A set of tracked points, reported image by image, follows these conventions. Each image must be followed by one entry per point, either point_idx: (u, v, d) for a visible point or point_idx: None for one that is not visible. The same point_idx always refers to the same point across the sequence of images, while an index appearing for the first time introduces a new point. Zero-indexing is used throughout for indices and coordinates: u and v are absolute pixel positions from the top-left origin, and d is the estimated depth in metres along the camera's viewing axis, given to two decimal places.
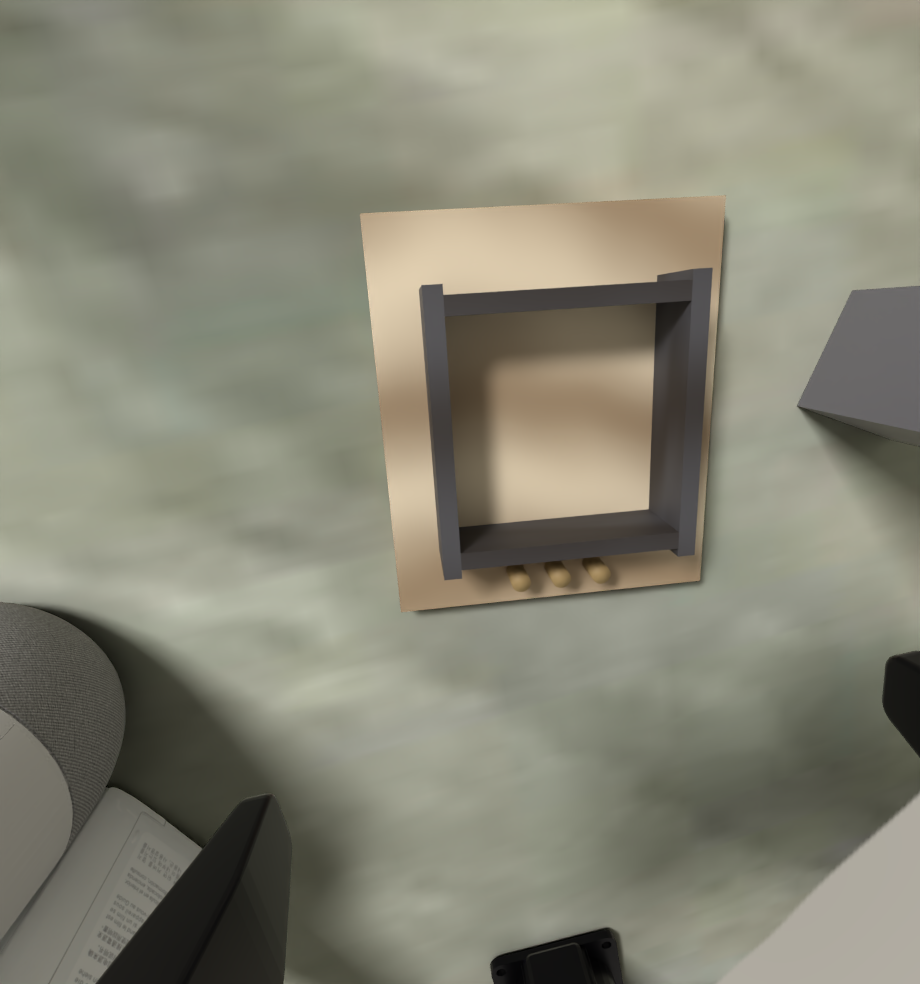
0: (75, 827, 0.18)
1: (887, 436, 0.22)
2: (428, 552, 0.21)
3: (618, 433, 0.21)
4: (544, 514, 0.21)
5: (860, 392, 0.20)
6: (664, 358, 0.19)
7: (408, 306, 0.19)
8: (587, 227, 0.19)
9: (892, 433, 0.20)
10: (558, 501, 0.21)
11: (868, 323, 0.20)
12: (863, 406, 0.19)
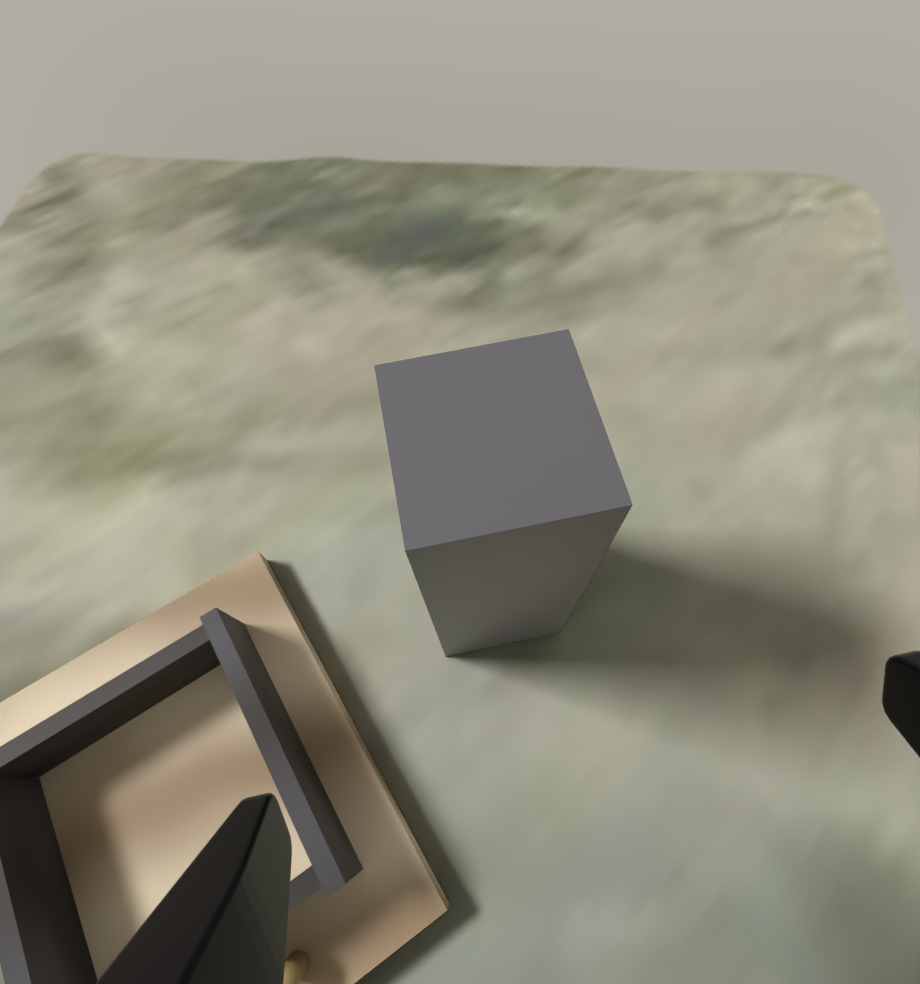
0: None
1: (538, 632, 0.21)
2: None
3: (258, 786, 0.19)
4: None
5: None
6: None
7: None
8: (153, 633, 0.22)
9: (499, 631, 0.20)
10: None
11: None
12: None
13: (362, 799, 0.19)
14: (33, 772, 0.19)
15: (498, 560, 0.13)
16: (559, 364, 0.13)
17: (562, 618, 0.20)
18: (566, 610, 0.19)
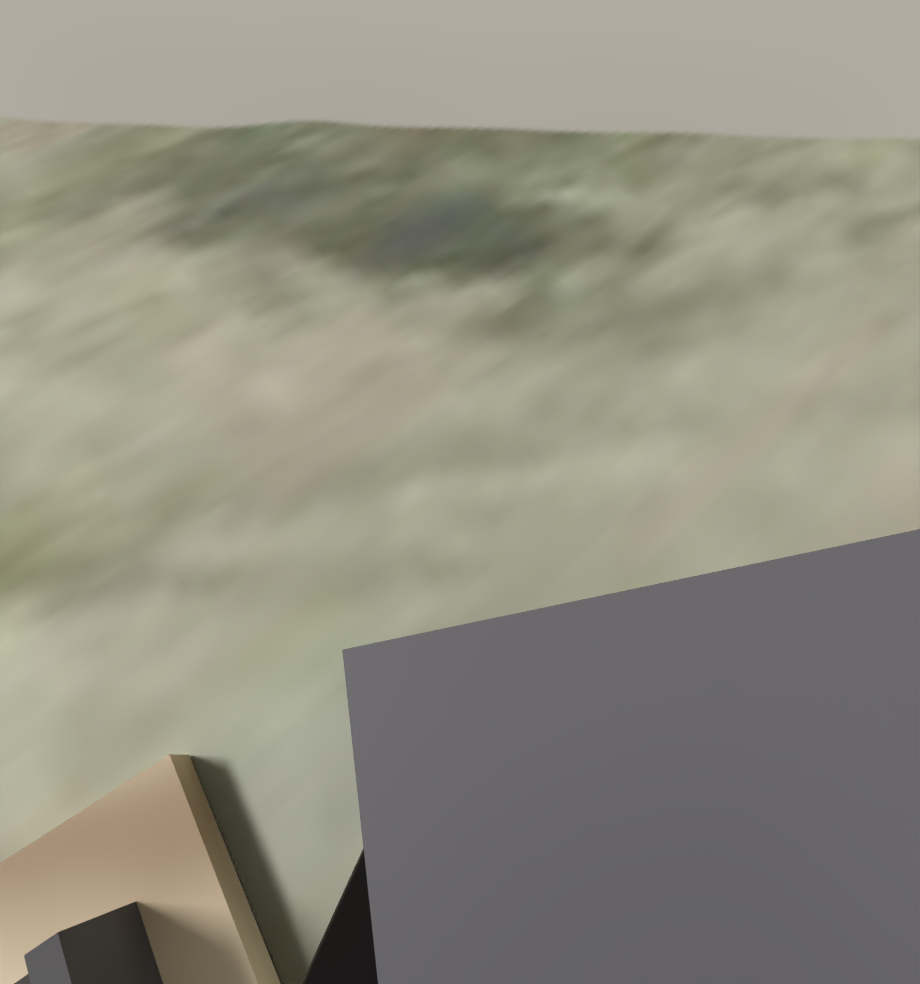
0: None
1: None
2: None
3: None
4: None
5: None
6: None
7: None
8: None
9: None
10: None
11: None
12: None
13: None
14: None
15: None
16: None
17: None
18: None
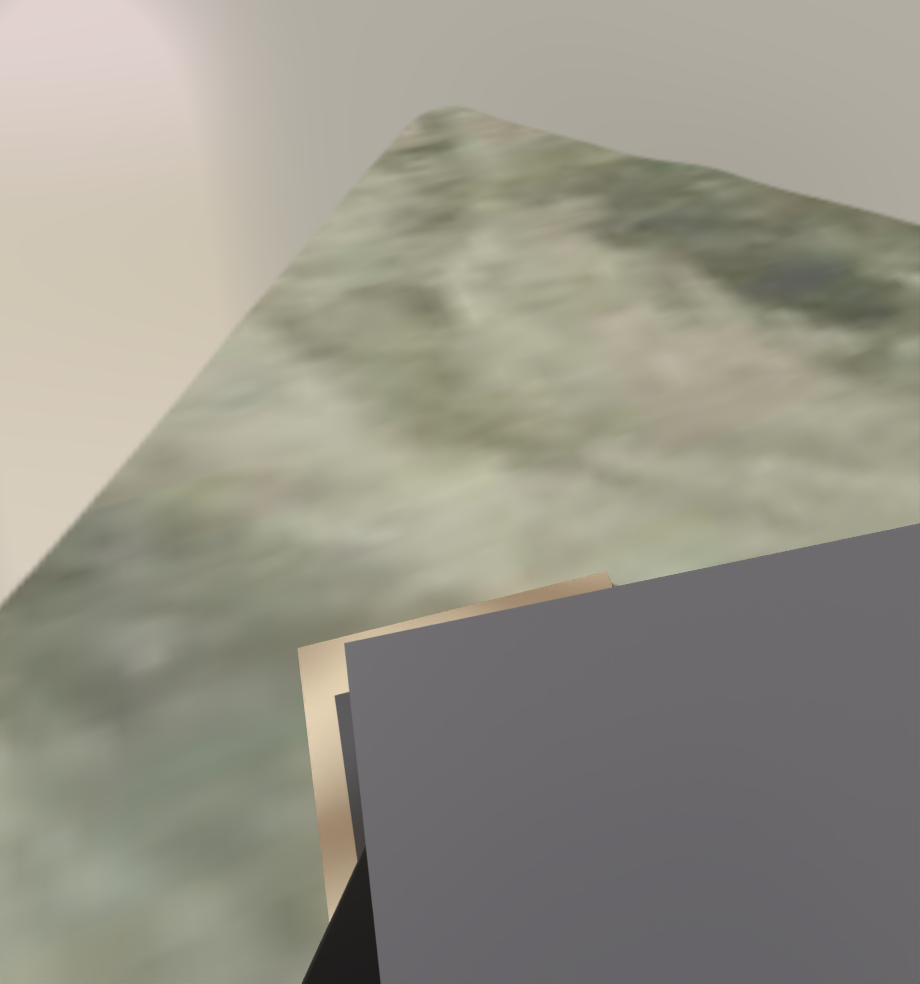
0: None
1: None
2: None
3: None
4: None
5: None
6: None
7: None
8: None
9: None
10: None
11: None
12: None
13: None
14: None
15: None
16: None
17: None
18: None
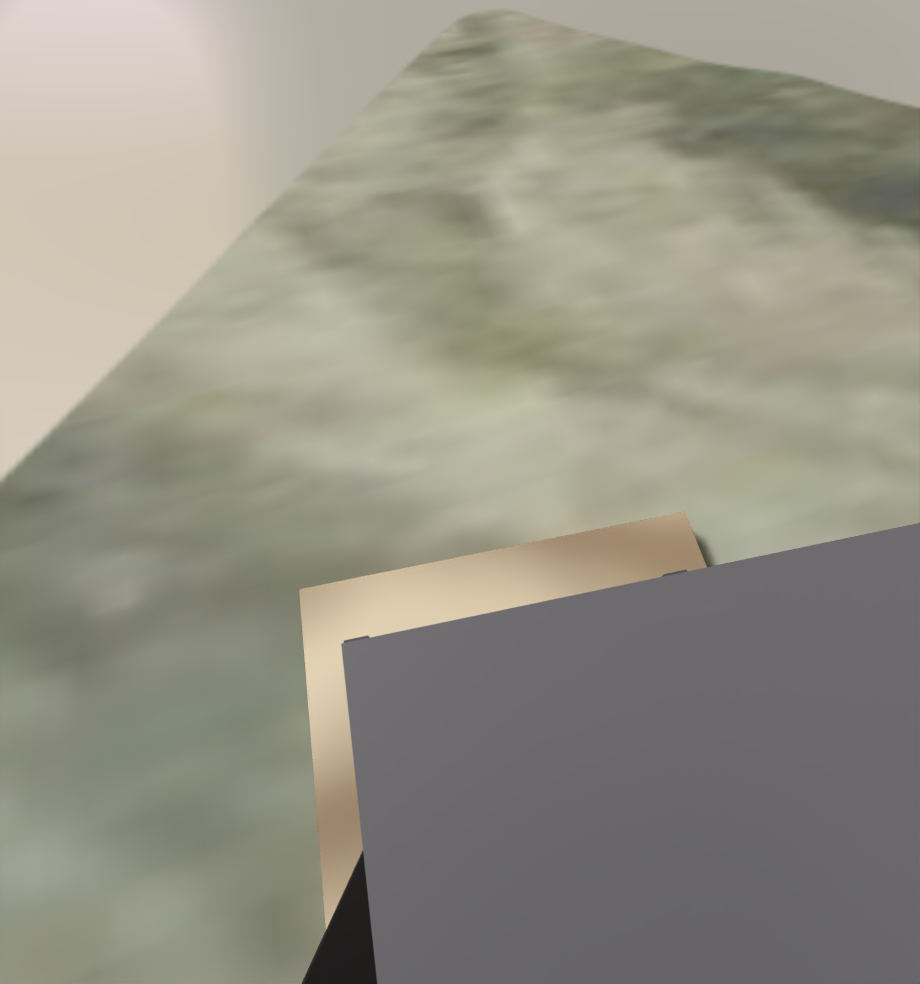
0: None
1: None
2: None
3: None
4: None
5: None
6: None
7: None
8: (543, 564, 0.17)
9: None
10: None
11: None
12: None
13: None
14: None
15: None
16: None
17: None
18: None
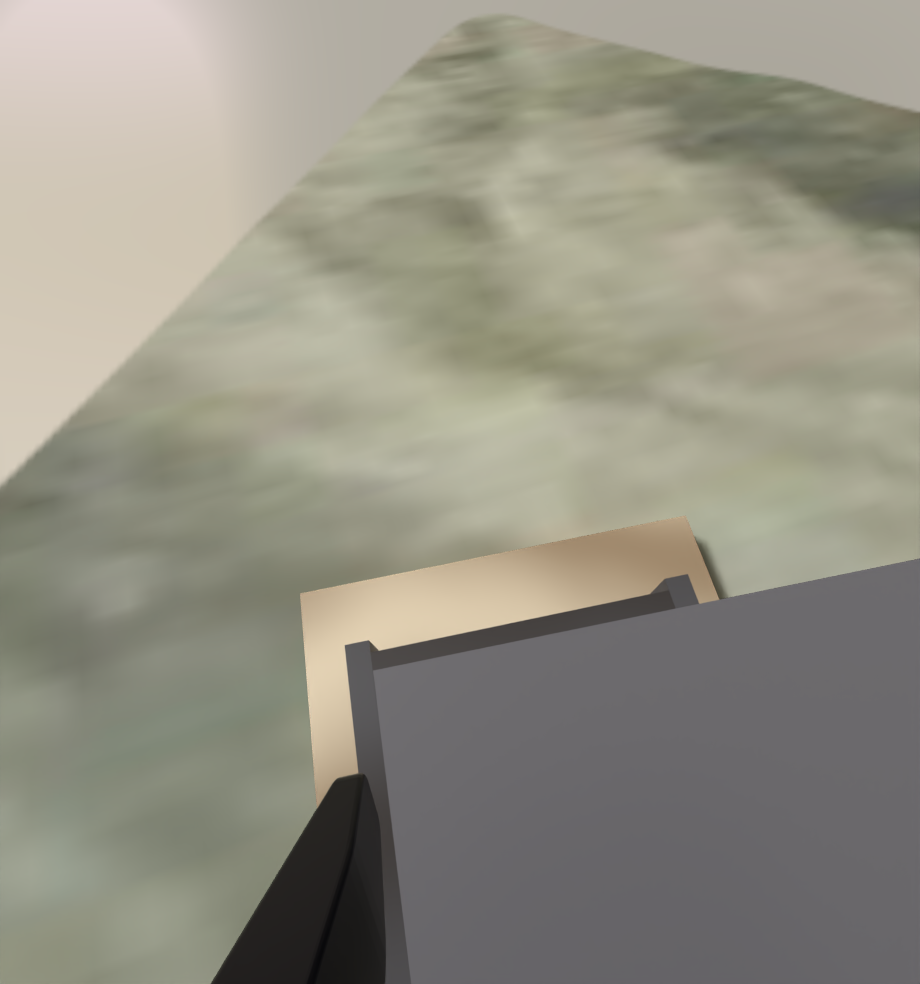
0: None
1: None
2: None
3: None
4: None
5: None
6: None
7: None
8: (544, 568, 0.17)
9: None
10: None
11: None
12: None
13: None
14: None
15: None
16: None
17: None
18: None
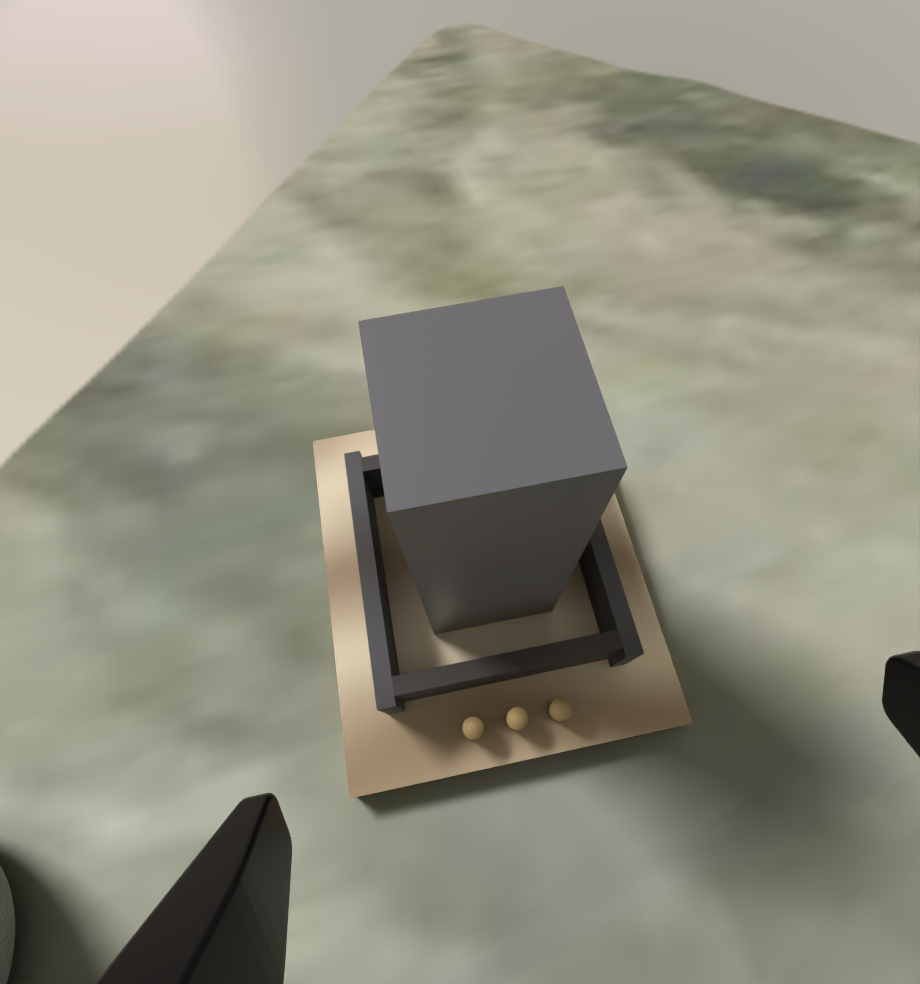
0: None
1: (529, 611, 0.21)
2: (376, 716, 0.20)
3: None
4: None
5: None
6: None
7: (349, 494, 0.24)
8: None
9: (489, 608, 0.19)
10: (505, 644, 0.21)
11: None
12: None
13: (635, 612, 0.21)
14: (378, 490, 0.23)
15: (487, 527, 0.12)
16: (553, 322, 0.12)
17: (553, 595, 0.19)
18: (558, 586, 0.18)
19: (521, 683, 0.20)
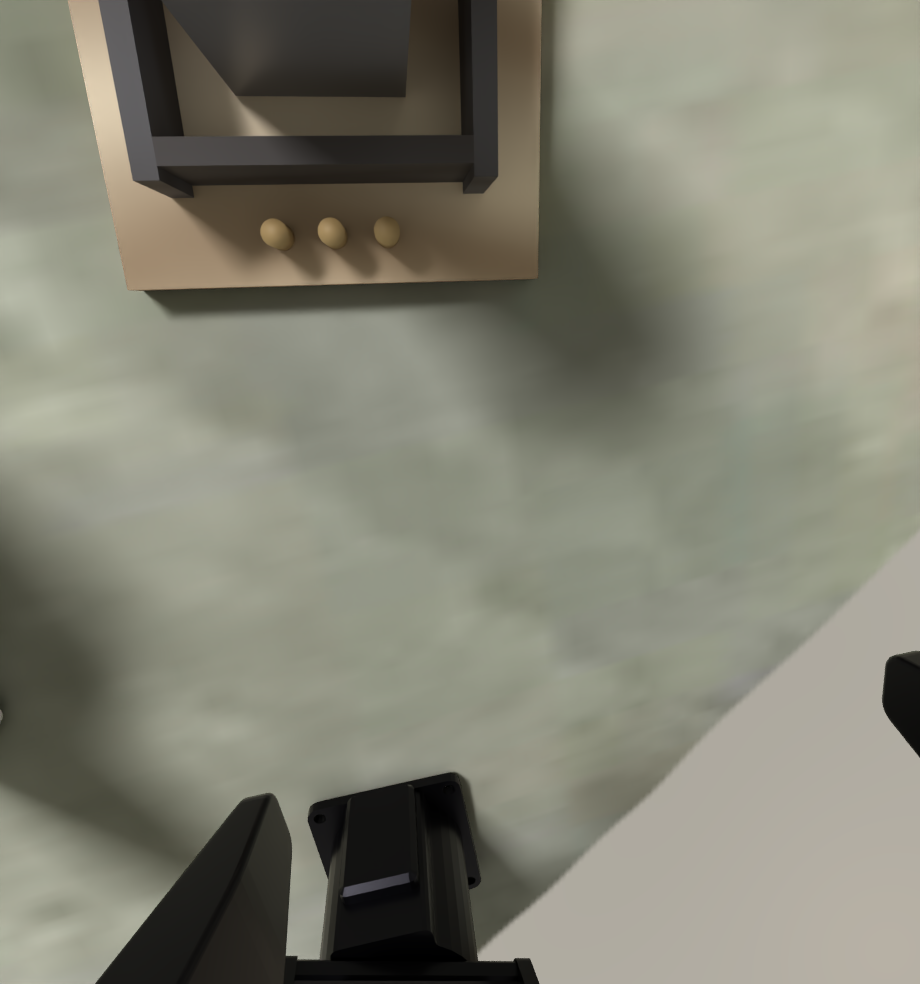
0: None
1: (369, 86, 0.15)
2: (156, 198, 0.16)
3: (412, 28, 0.15)
4: None
5: None
6: None
7: None
8: None
9: (300, 59, 0.13)
10: (334, 132, 0.16)
11: None
12: None
13: (514, 125, 0.16)
14: None
15: None
16: None
17: (397, 61, 0.13)
18: (397, 39, 0.12)
19: (348, 191, 0.16)
